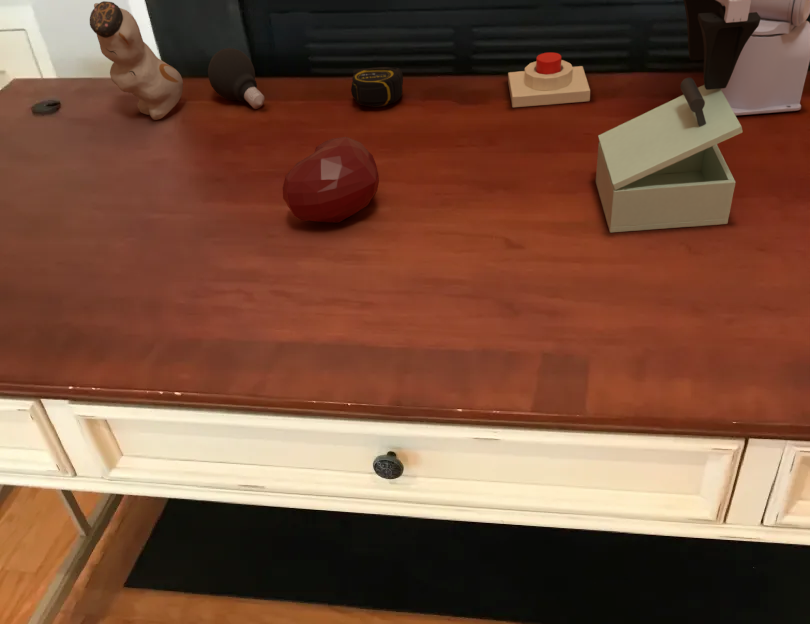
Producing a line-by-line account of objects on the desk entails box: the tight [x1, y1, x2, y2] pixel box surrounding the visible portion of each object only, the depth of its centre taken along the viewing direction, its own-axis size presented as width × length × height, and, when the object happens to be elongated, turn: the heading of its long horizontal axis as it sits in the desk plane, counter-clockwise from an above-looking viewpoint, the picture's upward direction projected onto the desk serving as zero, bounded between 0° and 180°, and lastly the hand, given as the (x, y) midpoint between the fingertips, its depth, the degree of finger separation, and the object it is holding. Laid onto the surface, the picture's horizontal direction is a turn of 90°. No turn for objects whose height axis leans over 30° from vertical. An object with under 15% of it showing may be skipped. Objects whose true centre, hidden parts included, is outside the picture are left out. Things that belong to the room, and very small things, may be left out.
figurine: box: [89, 0, 184, 121], centre depth 120 cm, size 9×10×15 cm
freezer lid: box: [597, 77, 743, 190], centre depth 92 cm, size 13×11×4 cm
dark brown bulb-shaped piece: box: [207, 47, 265, 110], centre depth 124 cm, size 6×6×10 cm
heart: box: [282, 136, 380, 224], centre depth 100 cm, size 12×8×10 cm
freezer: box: [595, 141, 736, 233], centre depth 96 cm, size 12×11×5 cm
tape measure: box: [350, 66, 404, 108], centre depth 120 cm, size 7×7×4 cm
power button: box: [535, 52, 562, 75], centre depth 117 cm, size 3×3×2 cm
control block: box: [507, 59, 591, 109], centre depth 118 cm, size 10×8×3 cm
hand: (707, 72), depth 95 cm, fingers open, 7 cm apart
